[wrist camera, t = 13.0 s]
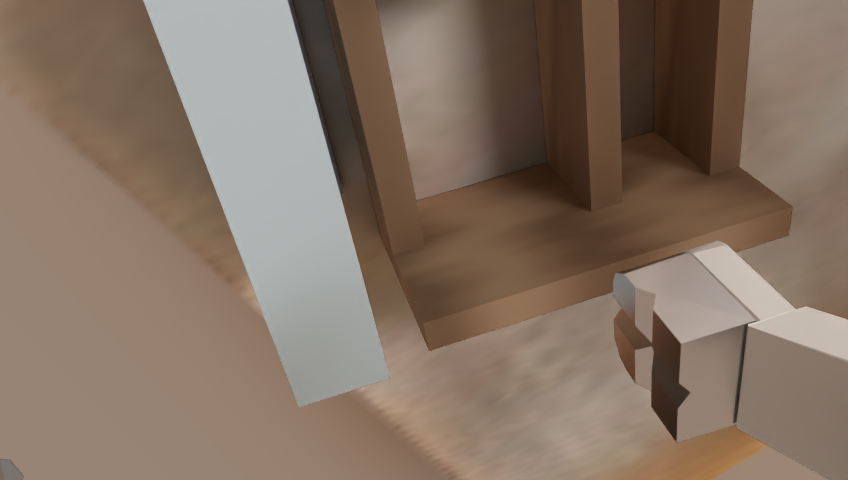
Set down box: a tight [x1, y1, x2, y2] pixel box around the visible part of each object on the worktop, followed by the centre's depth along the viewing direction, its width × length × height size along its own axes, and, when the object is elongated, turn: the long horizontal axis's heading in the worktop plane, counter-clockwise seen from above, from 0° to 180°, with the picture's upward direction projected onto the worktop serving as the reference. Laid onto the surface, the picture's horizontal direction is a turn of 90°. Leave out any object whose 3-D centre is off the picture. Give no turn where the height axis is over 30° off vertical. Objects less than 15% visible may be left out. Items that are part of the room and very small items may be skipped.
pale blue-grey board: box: [143, 0, 390, 407], centre depth 20 cm, size 2×14×10 cm, turn 10°
